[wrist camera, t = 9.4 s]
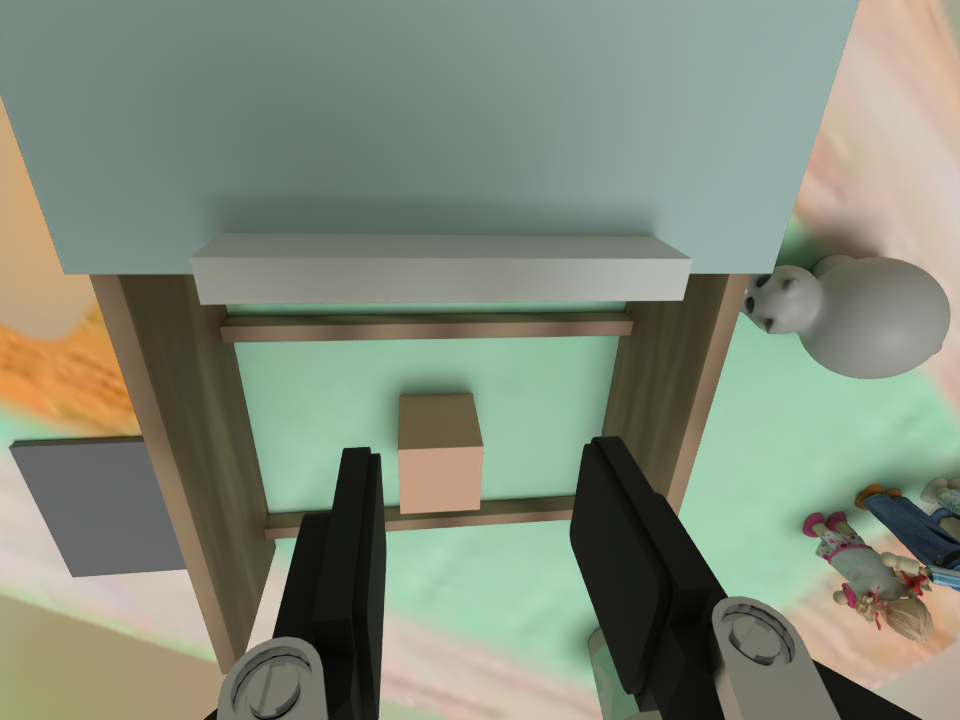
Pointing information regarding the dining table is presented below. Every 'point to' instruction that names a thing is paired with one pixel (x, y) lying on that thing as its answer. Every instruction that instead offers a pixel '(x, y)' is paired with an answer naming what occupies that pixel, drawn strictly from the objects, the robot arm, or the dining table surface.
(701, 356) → the wooden shelf frame
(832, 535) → the doll family
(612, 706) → the coffee cup
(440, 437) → the terracotta block
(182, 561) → the rubber mat
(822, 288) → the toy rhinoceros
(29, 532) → the dining table surface
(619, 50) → the sliding cover
